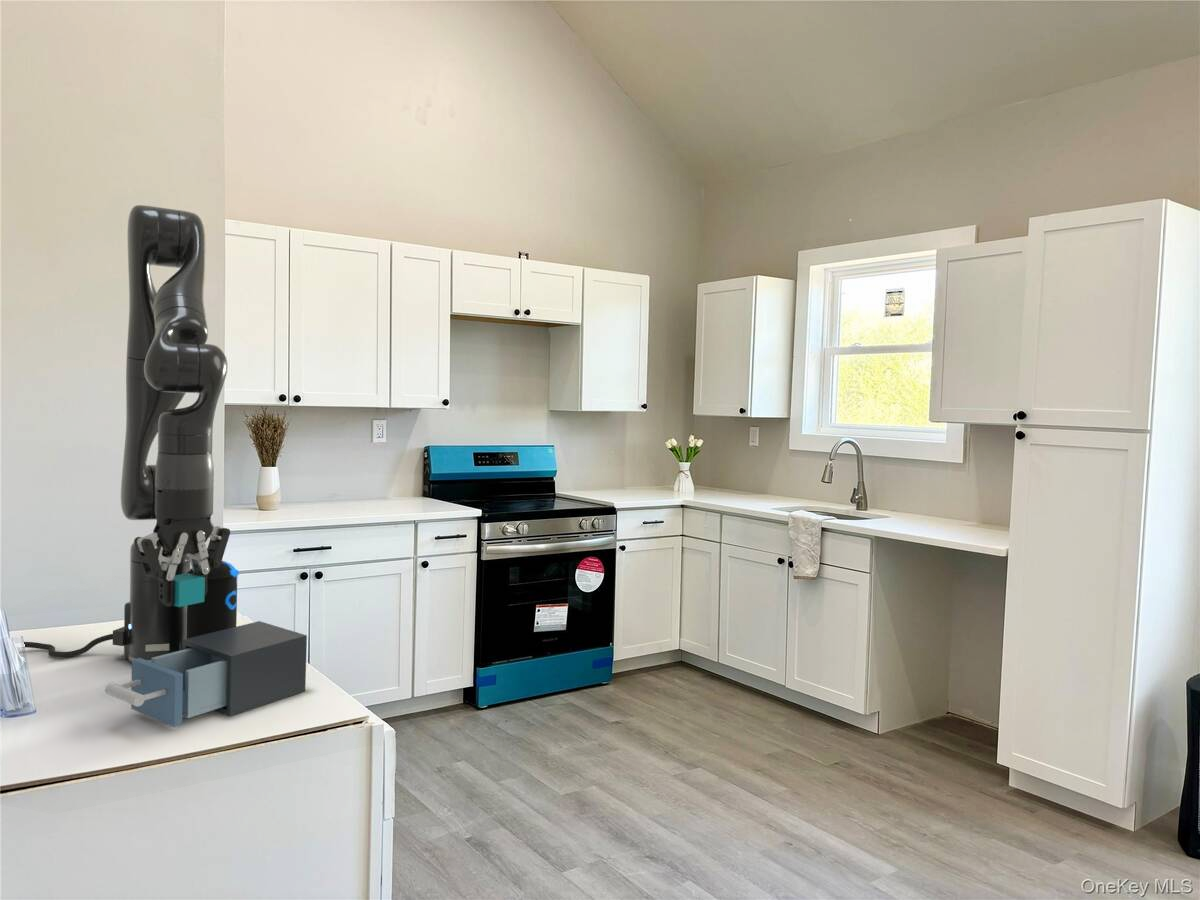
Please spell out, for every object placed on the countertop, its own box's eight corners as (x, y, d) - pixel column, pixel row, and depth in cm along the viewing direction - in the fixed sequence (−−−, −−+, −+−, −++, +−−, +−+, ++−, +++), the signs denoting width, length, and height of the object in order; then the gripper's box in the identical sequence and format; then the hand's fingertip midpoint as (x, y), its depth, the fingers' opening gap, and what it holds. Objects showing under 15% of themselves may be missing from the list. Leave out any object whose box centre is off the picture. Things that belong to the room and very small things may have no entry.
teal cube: (178, 607, 125) (179, 582, 125) (161, 602, 128) (162, 577, 127) (204, 601, 129) (204, 577, 129) (187, 597, 131) (188, 573, 131)
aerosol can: (185, 674, 146) (187, 554, 144) (183, 659, 153) (185, 544, 151) (239, 669, 149) (242, 552, 148) (235, 654, 157) (237, 542, 155)
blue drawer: (140, 738, 119) (141, 685, 118) (97, 718, 125) (97, 668, 124) (251, 701, 134) (253, 654, 133) (209, 685, 139) (209, 639, 139)
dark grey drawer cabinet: (229, 716, 130) (231, 656, 129) (182, 697, 136) (182, 639, 135) (305, 691, 142) (306, 635, 141) (258, 674, 148) (259, 620, 147)
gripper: (213, 477, 135) (211, 589, 136) (120, 484, 123) (119, 607, 124) (245, 482, 131) (242, 597, 132) (152, 490, 119) (151, 617, 120)
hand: (183, 601), depth 128 cm, fingers closed on teal cube, 4 cm apart
